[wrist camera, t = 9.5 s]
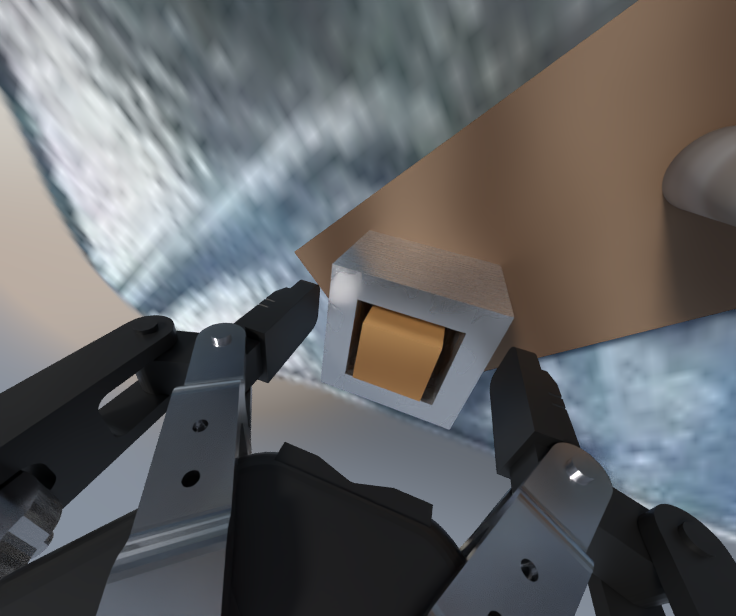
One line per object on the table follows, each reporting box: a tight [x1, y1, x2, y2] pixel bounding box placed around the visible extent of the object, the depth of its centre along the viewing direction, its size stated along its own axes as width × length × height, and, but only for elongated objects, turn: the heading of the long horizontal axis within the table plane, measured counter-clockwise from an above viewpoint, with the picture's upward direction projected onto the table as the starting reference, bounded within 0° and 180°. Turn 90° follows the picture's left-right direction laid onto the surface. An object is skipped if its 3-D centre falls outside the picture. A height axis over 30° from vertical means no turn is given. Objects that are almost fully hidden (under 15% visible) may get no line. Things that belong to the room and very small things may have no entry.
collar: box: [321, 230, 514, 430], centre depth 11 cm, size 6×6×4 cm
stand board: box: [295, 0, 736, 402], centre depth 9 cm, size 18×10×6 cm, turn 125°
